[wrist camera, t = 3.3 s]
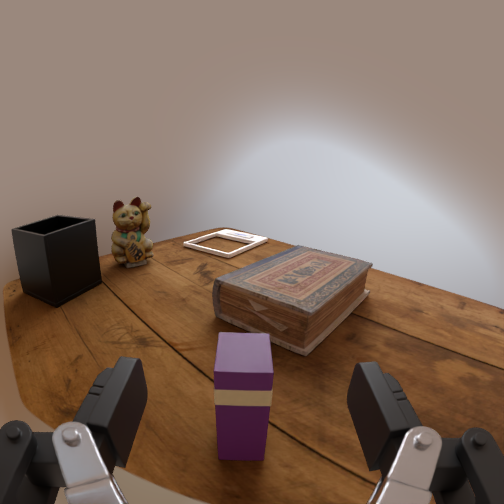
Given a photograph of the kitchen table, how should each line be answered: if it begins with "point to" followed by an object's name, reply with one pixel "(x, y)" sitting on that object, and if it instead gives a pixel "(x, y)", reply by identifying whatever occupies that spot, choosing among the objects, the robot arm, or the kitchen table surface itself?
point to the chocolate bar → (242, 394)
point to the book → (292, 296)
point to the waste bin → (57, 258)
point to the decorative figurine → (131, 233)
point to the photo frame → (228, 234)
